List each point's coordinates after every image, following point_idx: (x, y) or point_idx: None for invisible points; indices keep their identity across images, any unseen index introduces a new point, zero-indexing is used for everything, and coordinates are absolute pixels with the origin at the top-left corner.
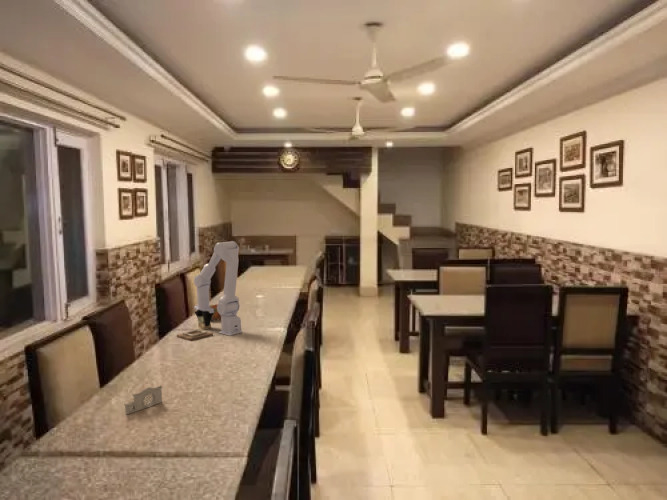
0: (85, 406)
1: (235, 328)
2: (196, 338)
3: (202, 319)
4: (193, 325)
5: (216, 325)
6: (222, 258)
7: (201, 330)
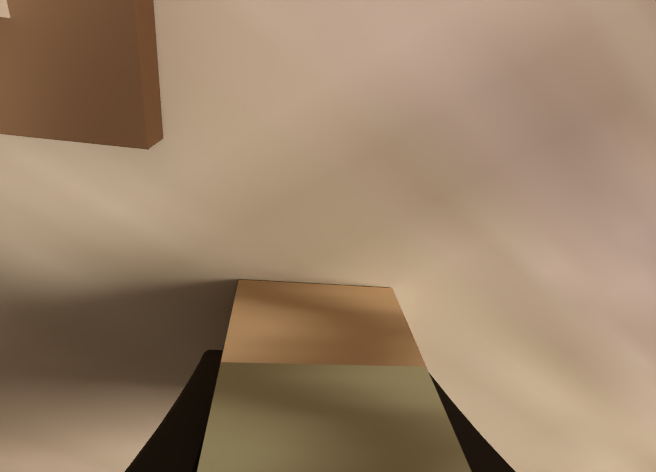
0: None
1: None
2: None
3: (227, 465)
4: (582, 342)
5: None
6: None
7: (3, 126)
